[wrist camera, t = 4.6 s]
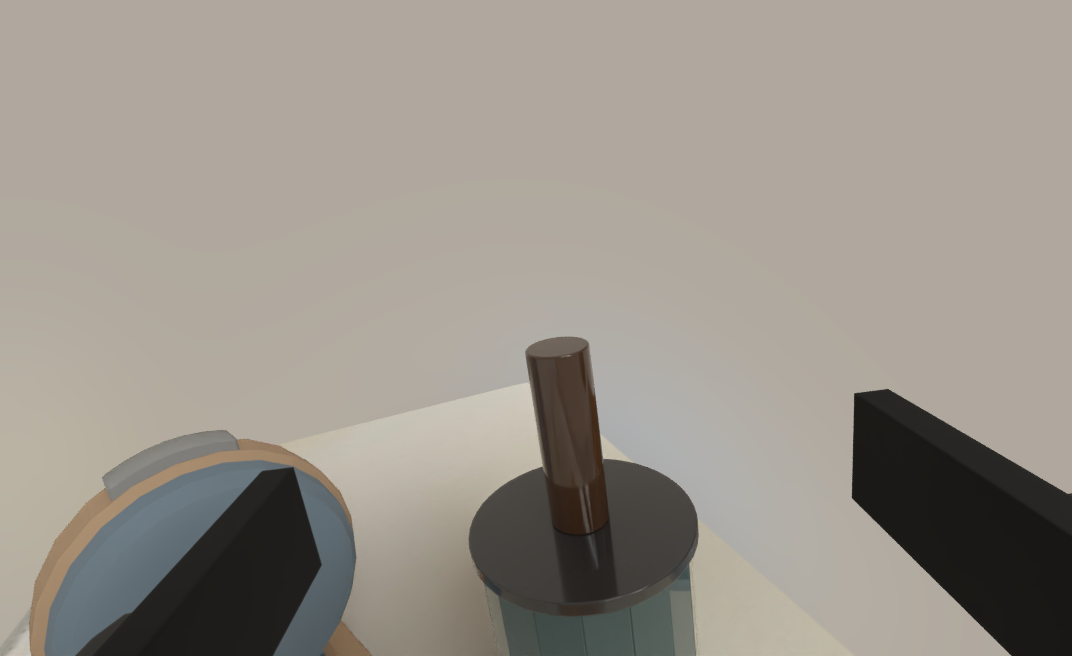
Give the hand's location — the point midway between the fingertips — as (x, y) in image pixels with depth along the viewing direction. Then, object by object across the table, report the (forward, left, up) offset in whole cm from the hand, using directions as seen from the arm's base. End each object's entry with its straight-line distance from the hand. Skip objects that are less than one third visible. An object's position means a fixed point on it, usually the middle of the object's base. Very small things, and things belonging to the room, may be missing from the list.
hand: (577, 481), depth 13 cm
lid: (+6, -7, -8) cm, 13 cm away
